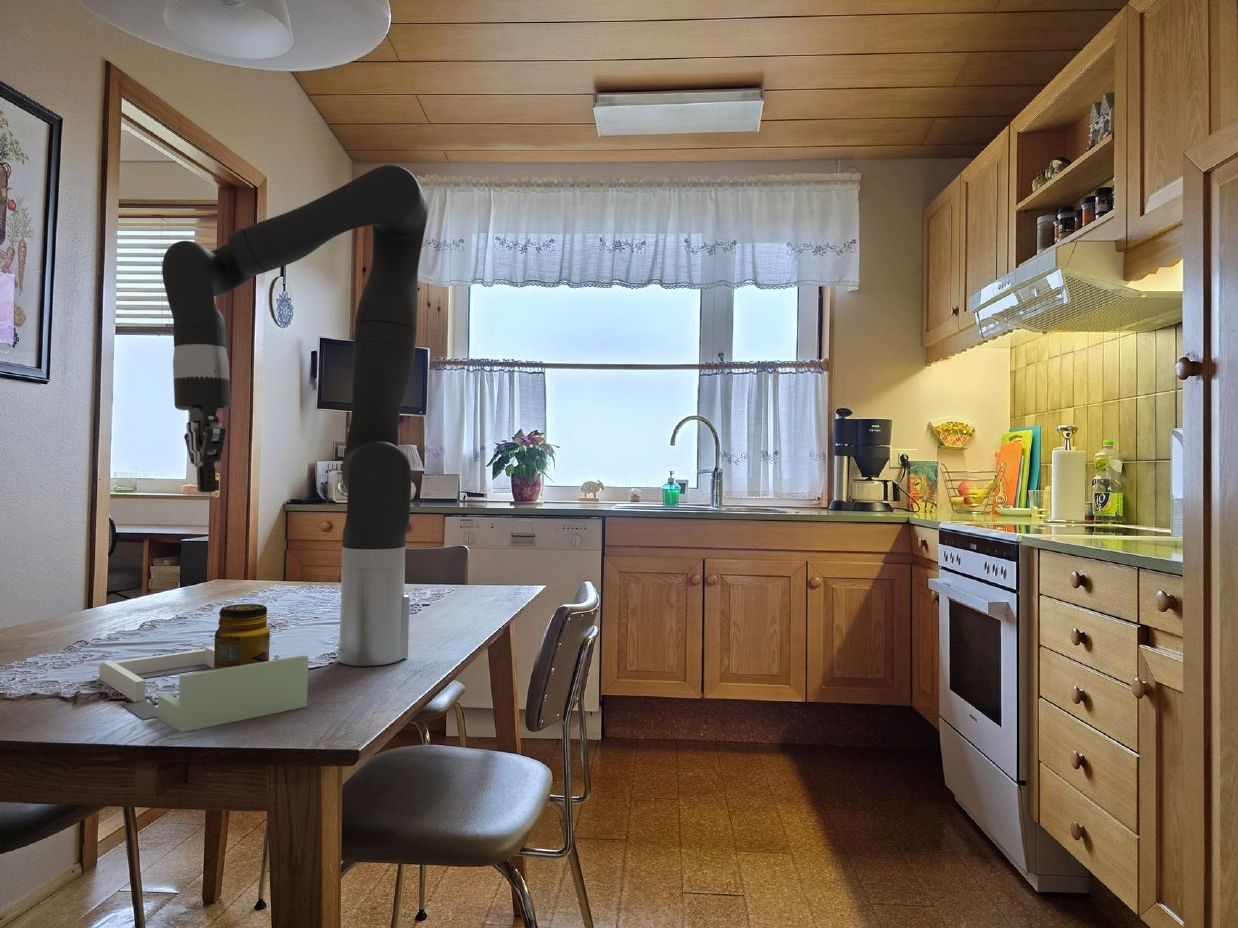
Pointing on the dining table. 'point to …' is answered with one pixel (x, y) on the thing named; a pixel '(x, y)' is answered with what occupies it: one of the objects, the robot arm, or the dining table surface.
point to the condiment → (241, 636)
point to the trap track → (210, 688)
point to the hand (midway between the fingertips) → (206, 492)
